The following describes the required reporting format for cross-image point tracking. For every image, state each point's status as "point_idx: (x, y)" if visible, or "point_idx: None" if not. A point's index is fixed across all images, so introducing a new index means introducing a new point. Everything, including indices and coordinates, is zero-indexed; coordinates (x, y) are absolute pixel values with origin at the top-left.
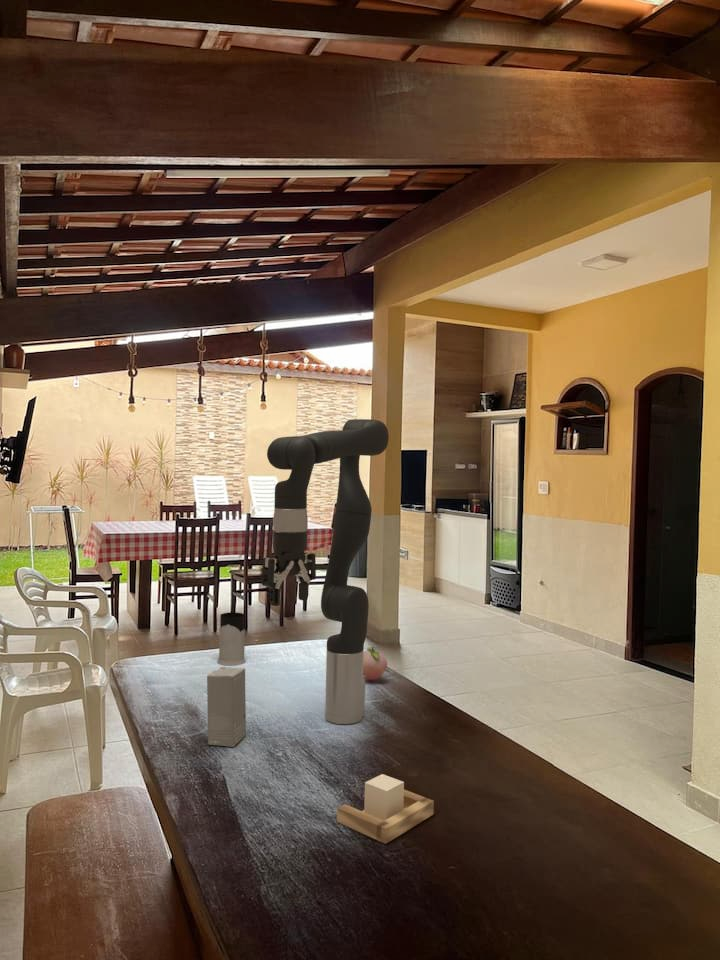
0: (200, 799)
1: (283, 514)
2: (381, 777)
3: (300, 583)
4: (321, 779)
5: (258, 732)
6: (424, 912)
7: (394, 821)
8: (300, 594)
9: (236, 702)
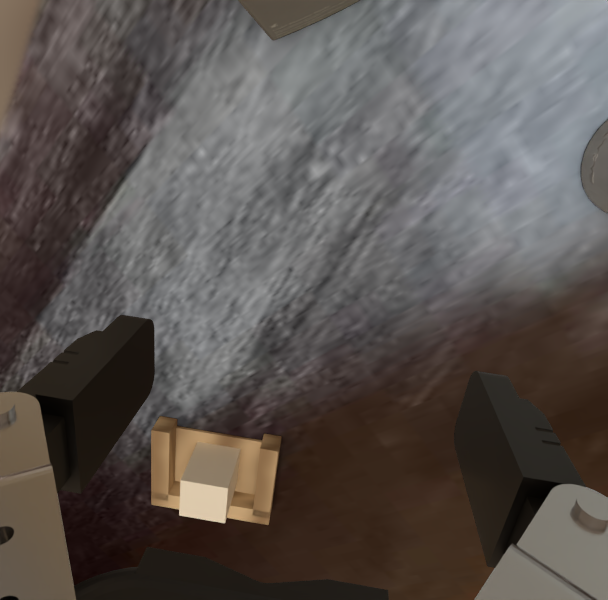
0: (47, 185)
1: None
2: (215, 492)
3: (512, 502)
4: (265, 321)
5: (408, 11)
6: (81, 559)
7: (176, 505)
8: (477, 417)
9: (280, 3)
